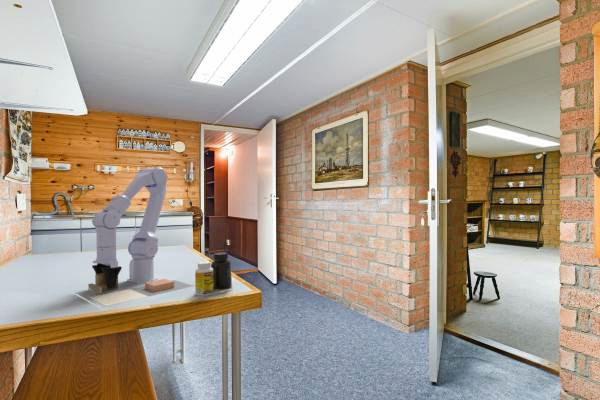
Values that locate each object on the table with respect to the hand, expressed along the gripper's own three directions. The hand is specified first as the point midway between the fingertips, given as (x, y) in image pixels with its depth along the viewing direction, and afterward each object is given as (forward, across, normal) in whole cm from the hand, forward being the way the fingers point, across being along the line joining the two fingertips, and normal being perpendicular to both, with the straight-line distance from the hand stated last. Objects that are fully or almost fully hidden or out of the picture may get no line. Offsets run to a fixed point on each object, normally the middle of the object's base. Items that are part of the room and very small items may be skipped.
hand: (106, 286), depth 109 cm
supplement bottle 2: (+2, +29, +26) cm, 39 cm away
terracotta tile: (+1, +13, +12) cm, 18 cm away
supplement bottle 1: (+2, +31, +18) cm, 36 cm away
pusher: (+2, 0, 0) cm, 2 cm away
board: (+1, +13, +7) cm, 15 cm away
